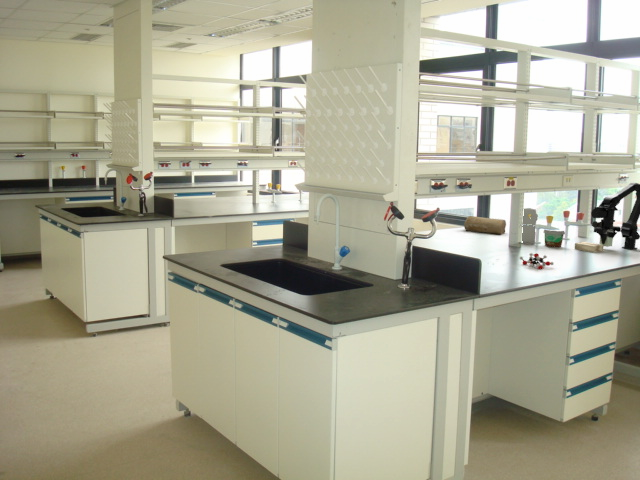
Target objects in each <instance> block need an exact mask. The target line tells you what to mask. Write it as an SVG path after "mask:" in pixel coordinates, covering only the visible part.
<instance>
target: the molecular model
mask: <svg viewBox="0 0 640 480" xmlns="http://www.w3.org/2000/svg"><path fill="white" fill-rule="evenodd" d="M533 256H534V257H533ZM547 257H548V256H547V255H546V254H544V255H543V257H540V255H539V253H533V252H530V253H529V258H528V260H525V259H524V257H523V256H519V260H522V265H525V266H526V265H528V264H529V267H530V268H532V267H533V266H536V267H537V269H538V270H543V269H545V266H547V267H548V266H550V265H551V266H554V264H555V263H554V262H553V261H551V262H550V261H548V260H547V261H544V259H547Z"/></svg>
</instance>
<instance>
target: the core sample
mask: <svg viewBox="0 0 640 480" xmlns="http://www.w3.org/2000/svg"><path fill="white" fill-rule="evenodd" d="M506 226H507V222H506V220H505V219H502V218H500V219H499V218H492V217H491V218H490V217H482V216H481V217H480V216H473V215H469V216H468V217H467V218H466V219H465V221H464V225H463V227H464V230H465V231H468V232H475V233H485V234H495V235H496V234H497V235H503V234H505V233H506Z"/></svg>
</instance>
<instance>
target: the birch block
mask: <svg viewBox="0 0 640 480" xmlns="http://www.w3.org/2000/svg"><path fill="white" fill-rule="evenodd" d="M604 247H605V246H604V245H601V244H600V243H595V242H589V241H583V242H582V241H581V242H575V243H574V250H579V251H584V252H588V253H600V252H604Z"/></svg>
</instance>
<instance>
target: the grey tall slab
mask: <svg viewBox="0 0 640 480" xmlns="http://www.w3.org/2000/svg"><path fill="white" fill-rule="evenodd" d="M523 209H524V216H523V224H526V225H523V226H522V227H523V233H522V241H523V243H522V244H524V243H525V244H527V245H535V244H536V233H537V232H536V226H537V221H538V217H539V214H538V213H537V210H536V209H534V208H531V207H525V208H523ZM529 214H531V216H530V217H531V219H530V218H529V216H528V215H529ZM527 224H532V225H529V226H527ZM533 225H536V226H534V227H533Z"/></svg>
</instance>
